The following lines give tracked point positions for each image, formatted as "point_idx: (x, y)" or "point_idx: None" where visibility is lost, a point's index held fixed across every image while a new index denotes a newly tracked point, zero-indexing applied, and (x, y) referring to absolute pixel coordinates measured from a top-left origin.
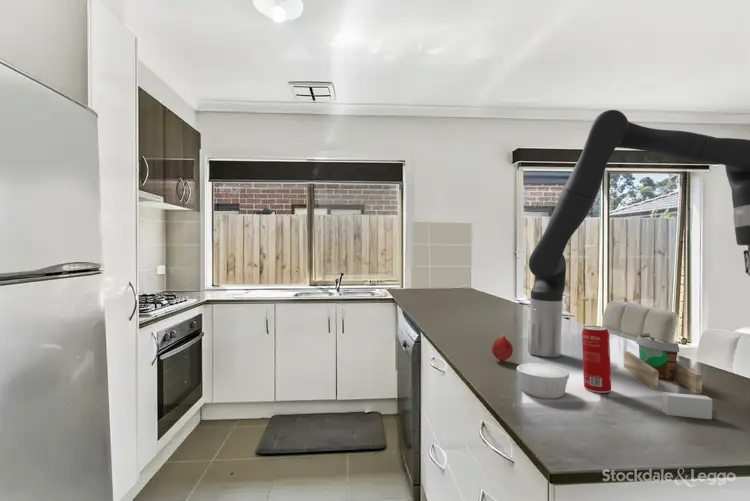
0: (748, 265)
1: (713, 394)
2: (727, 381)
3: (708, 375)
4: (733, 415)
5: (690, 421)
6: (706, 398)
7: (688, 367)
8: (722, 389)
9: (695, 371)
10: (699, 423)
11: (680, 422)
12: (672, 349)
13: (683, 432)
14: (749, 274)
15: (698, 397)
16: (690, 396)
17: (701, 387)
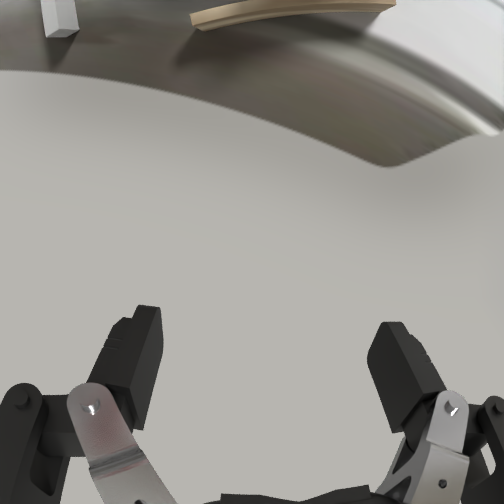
0: (417, 477)
1: (212, 53)
2: (344, 121)
3: (381, 99)
4: (99, 65)
5: None
6: (47, 29)
7: (257, 8)
8: (265, 82)
9: (218, 15)
10: None
11: None
12: None
13: (16, 15)
14: (442, 402)
15: (47, 19)
16: (47, 9)
17: (200, 29)
